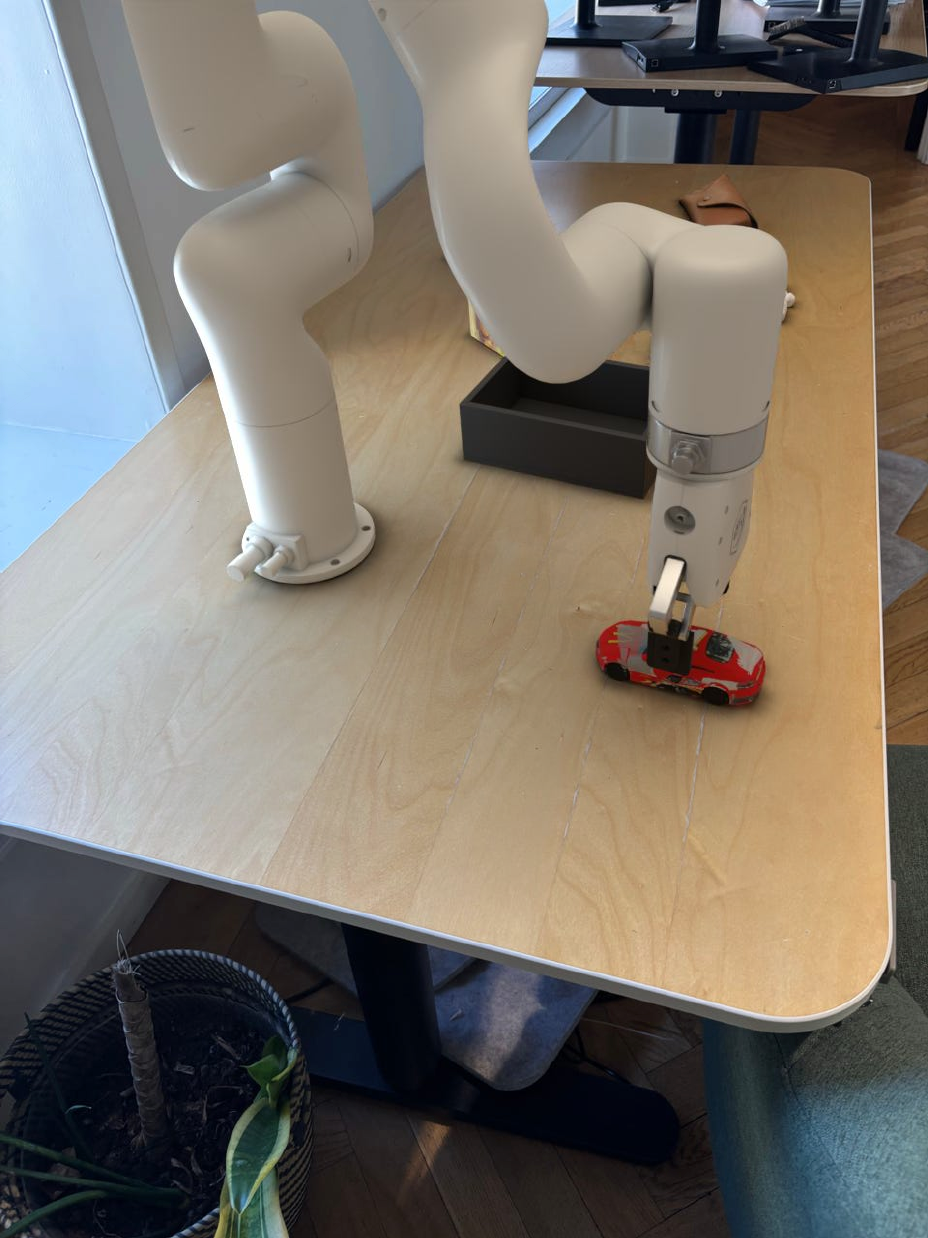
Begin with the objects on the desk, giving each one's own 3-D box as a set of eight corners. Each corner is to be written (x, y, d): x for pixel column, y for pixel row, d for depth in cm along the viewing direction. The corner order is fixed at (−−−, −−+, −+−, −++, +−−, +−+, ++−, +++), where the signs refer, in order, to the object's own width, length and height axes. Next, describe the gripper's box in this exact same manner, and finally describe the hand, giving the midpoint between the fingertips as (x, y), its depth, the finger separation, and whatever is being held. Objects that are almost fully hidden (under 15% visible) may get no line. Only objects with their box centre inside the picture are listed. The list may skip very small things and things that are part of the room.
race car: (585, 674, 79) (586, 638, 77) (607, 631, 83) (608, 595, 80) (752, 719, 75) (758, 682, 72) (767, 671, 78) (774, 634, 75)
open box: (642, 499, 96) (646, 441, 92) (463, 459, 103) (458, 403, 99) (685, 429, 105) (691, 373, 100) (517, 397, 112) (515, 343, 108)
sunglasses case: (674, 197, 153) (699, 156, 149) (711, 217, 155) (737, 178, 152) (698, 242, 140) (727, 199, 136) (738, 264, 142) (767, 221, 138)
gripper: (726, 516, 57) (703, 719, 68) (796, 377, 68) (767, 571, 79) (603, 491, 60) (601, 689, 71) (689, 361, 71) (676, 551, 82)
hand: (688, 627), depth 75 cm, fingers open, 9 cm apart
